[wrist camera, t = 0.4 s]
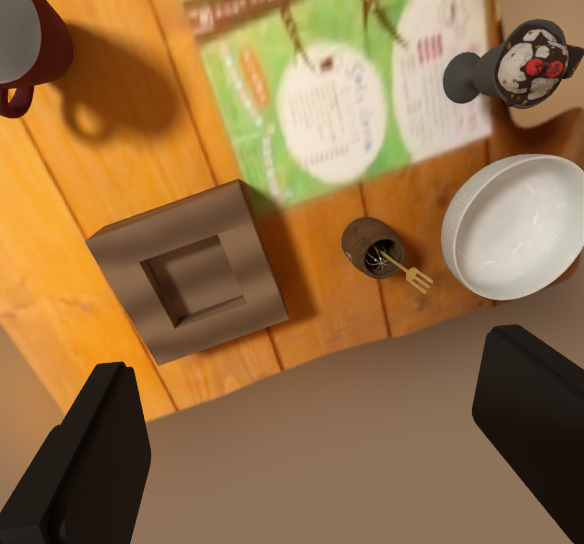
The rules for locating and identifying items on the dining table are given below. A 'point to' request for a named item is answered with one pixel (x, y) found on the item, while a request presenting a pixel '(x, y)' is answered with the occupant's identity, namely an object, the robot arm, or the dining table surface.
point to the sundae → (515, 67)
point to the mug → (30, 51)
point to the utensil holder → (377, 251)
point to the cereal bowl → (515, 225)
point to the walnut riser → (191, 272)
